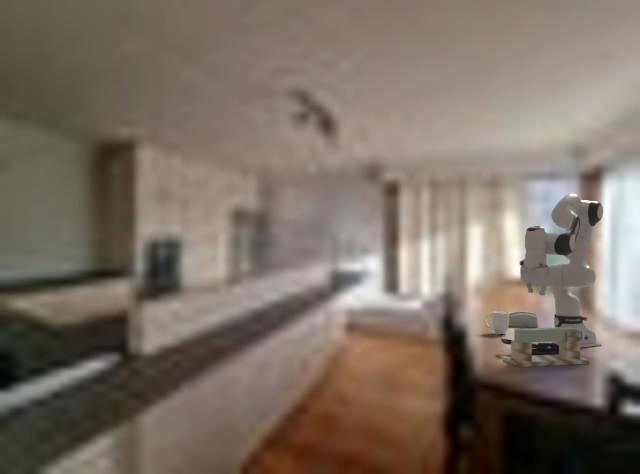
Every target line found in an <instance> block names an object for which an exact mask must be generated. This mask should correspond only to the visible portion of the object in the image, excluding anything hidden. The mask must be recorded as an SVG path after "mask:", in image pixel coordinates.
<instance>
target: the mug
mask: <svg viewBox="0 0 640 474" xmlns="http://www.w3.org/2000/svg"><path fill="white" fill-rule="evenodd" d="M509 314H510V312H509V311H502V310H495V311H491V313H490V314H488V315H487V316H486V318H485V319H486V325H487V327H488V328H490V329H491V330H493V331H494V334H495V335H497V334H505V335H507V331H508V329H509V327H510V326H509ZM489 317H491V326H490V325H489V324H488V321H487V320H488V318H489Z"/></svg>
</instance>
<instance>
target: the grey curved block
mask: <svg viewBox="0 0 640 474" xmlns="http://www.w3.org/2000/svg"><path fill="white" fill-rule="evenodd" d="M508 327H514V328H516V327H517V328H519V327H520V328H522V327H523V328H539V321H538V315H537V314H536V313H533V312H531V311H524V310H521V311H513V312H509V326H508Z"/></svg>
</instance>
